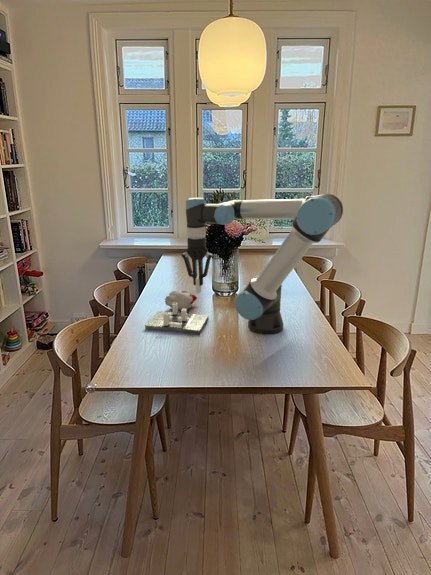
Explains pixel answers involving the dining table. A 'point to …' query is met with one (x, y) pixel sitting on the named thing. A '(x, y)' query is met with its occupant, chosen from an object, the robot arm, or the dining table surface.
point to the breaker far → (174, 308)
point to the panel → (178, 323)
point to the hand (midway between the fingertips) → (198, 292)
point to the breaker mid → (184, 314)
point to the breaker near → (166, 319)
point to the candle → (180, 299)
